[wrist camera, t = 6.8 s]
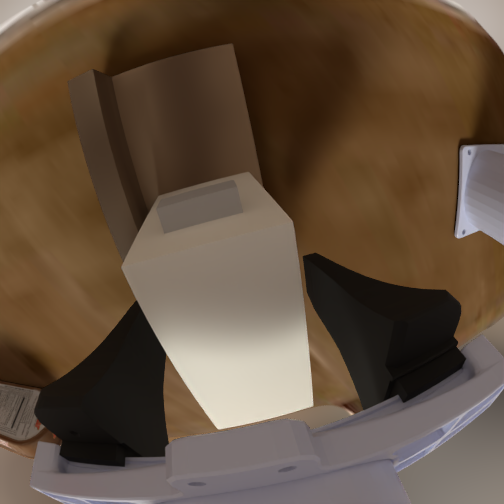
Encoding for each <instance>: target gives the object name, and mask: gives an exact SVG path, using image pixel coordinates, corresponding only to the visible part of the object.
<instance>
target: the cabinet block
mask: <svg viewBox="0 0 504 504" xmlns="http://www.w3.org/2000/svg"><path fill="white" fill-rule="evenodd" d="M121 268H122V270H123V272H124V275H125V277H126V279H127V281H128V283H129V285H130V287H131V289H132V291H133V293H134V295H135V297H136V299H137V301H138V303H139V305H140V307H141V309H142V311H143V313H144V315H145V316H146V318H147V320H148V322H149V324H150V326H151V327H152V329H153V331H154V333H155V335H156V336H157V338H158V340H159V342H160V343H161V345H162V347H163V348H164V350H165V352H166V353H167V355H168V357H169V358H170V360H171V362H172V363H173V365H174V366H175V368H176V370H177V371H178V373H179V374H180V376H181V377H182V379H183V381H184V382H185V384H186V385H187V387H188V388H189V390H190V391H191V393H192V394H193V395H194V397H195V398H196V400H197V401H198V403H199V404H200V406H201V407H202V408H203V410H204V411H205V413H206V414H207V415H208V417H209V418H210V419H211V421H212V422H213V423H214V425H215V426H216V427H217V429H223V428H229V427H234V426H239V425H244V424H249V423H253V422H257V421H262V420H266V419H270V418H274V417H278V416H281V415H285V414H288V413H292V412H295V411H299V410H302V409H305V408H308V407H312V406H313V394H312V381H311V369H310V357H309V347H308V336H307V327H306V317H305V308H304V300H303V291H302V283H301V275H300V267H299V260H298V253H297V245H296V238H295V231H294V225H293V221H292V220H291V219H290V218H289V216H288V215H287V214H286V213H285V212H284V211H283V209H282V208H281V207H280V206H279V205H278V204H277V203H276V202H275V200H274V199H273V198H272V197H271V196H270V195H269V194H268V192H267V191H266V190H265V189H264V188H263V187H262V186H261V185H260V184H259V182H258V181H257V180H256V179H255V178H254V177H253V176H252V175H251V174H250V173H249V172H245V173H241V174H237V175H233V176H229V177H225V178H221V179H217V180H213V181H209V182H205V183H201V184H198V185H194V186H191V187H187V188H184V189H180V190H177V191H173V192H170V193H166V194H163V195H160V196H158V198H157V199H156V201H155V203H154V205H153V206H152V208H151V210H150V212H149V214H148V215H147V217H146V219H145V221H144V223H143V225H142V227H141V228H140V230H139V232H138V234H137V236H136V238H135V240H134V242H133V244H132V246H131V248H130V250H129V252H128V254H127V256H126V258H125V260H124V262H123V265H122V267H121Z"/></svg>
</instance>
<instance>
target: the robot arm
mask: <svg viewBox="0 0 504 504" xmlns="http://www.w3.org/2000/svg"><path fill="white" fill-rule="evenodd" d="M479 230H481V231H482V232H484V233H486V234H487V235H489V236H490V237H492V238H494V239H495V240H497V241H498V242H500V243H501V244H503V245H504V144H481V145H462V146H461V147H460V172H459V195H458V208H457V218H456V227H455V236H456V237H457V238H462V237H464V236H467V235H469V234H472V233H474V232H476V231H479ZM303 262H304V270H305V279H306V288H307V293H308V296H309V298H310V300H311V302H312V305H313V307H314V309H315V311H316V312H317V314H318V316H319V317H320V319H321V320H322V322H323V324H324V325H325V327H326V328H327V330H328V332H329V333H330V335H331V336H332V338H333V340H334V341H335V343H336V345H337V347H338V348H339V350H340V353H341V355H342V357H343V359H344V361H345V364H346V366H347V368H348V371H349V373H350V375H351V378H352V380H353V383H354V385H355V388H356V390H357V393H358V396H359V398H360V401H361V404H362V407H363V410H364V411H361V412H359V413H356V414H354V415H351V416H349V417H347V418H344V419H341V420H338V421H336V422H333V423H330V424H327V425H324V426H321V427H318V428H315V429H312V430H310V427H309V426H308V425H307V424H306V423H305V422H304V421H301V420H294V419H282V420H276V421H268V422H265V423H260V424H256V425H251V426H247V427H242V428H237V429H232V430H226V431H220V432H214V433H208V434H201V435H193V436H187V437H183V438H178V439H174V440H173V441H172V442H170V443H169V442H168V436H167V429H166V421H165V412H164V398H163V383H164V371H165V360H166V352H165V350H164V348H163V347H162V345H161V343H160V342H159V340H158V338H157V336H156V335H155V333H154V331H153V329H152V327H151V326H150V324H149V322H148V320H147V318H146V316H145V315H144V313H143V311H142V309H141V307H140V305H139V303H138V301H137V300H136V301H135V303H134V304H133V305H132V306H131V307H130V309H129V310H128V311H127V313H126V314H125V315H124V316H123V318H122V319H121V320H120V321H119V323H118V324H117V325H116V327H115V328H114V329H113V330H112V331H111V333H110V334H109V335H108V336H107V337H106V339H105V340H104V341H103V342H102V343H101V344H100V345H99V346H98V347H97V348H96V349H95V350H94V351H93V352H92V353H91V354H90V355H89V356H88V357H87V358H86V359H84V360H83V361H82V362H81V363H80V364H79V365H78V366H76V367H75V368H74V369H72V370H71V371H70V372H68V373H67V374H66V375H64V376H63V377H61V378H60V379H58V380H57V381H55V382H53V383H51V384H50V385H48V386H46V387H44V388H43V389H41V391H40V394H39V397H38V400H37V403H36V406H35V409H34V414H35V416H36V418H37V419H38V420H39V422H40V423H41V424H42V425H43V426H45V427H46V428H47V429H48V430H49V431H51V432H52V433H53V434H54V435H56V436H57V437H58V438H60V439H61V440H62V444H61V446H60V445H57V444H54V443H48V442H42V441H39V442H38V445H37V449H36V454H35V458H34V464H33V469H32V474H31V480H30V486H31V487H32V488H34V489H36V490H38V491H40V492H41V493H43V494H45V495H47V496H49V497H51V498H54V499H56V500H58V501H60V502H62V503H64V504H411V502H410V500H409V498H408V496H407V493H406V492H405V489H404V487H403V485H402V483H401V481H400V479H399V476H398V474H397V472H399V471H400V470H402V469H404V468H406V467H407V466H409V465H411V464H412V463H414V462H416V461H417V460H419V459H421V458H422V457H424V456H425V455H427V454H428V453H430V452H431V451H433V450H434V449H436V448H437V447H439V446H440V445H441V444H443V443H444V442H445V441H447V440H448V439H450V438H451V437H452V436H454V435H455V434H456V433H457V432H459V431H460V430H461V429H463V428H464V427H465V426H466V425H468V424H469V423H470V422H472V421H473V420H474V419H475V418H476V417H477V416H479V415H480V414H481V413H482V412H484V411H485V410H486V409H487V408H488V407H489V406H490V405H491V404H492V402H494V400H495V399H496V398H497V397H498V395H499V394H500V393H501V391H502V390H503V389H504V357H503V356H502V355H501V354H500V353H499V351H497V349H496V348H495V347H494V346H493V345H492V344H491V343H490V342H489V340H488V339H487V338H486V337H485V336H484V335H479V336H478V337H477V338H475V339H474V340H473V341H471V342H470V343H468V344H467V345H466V346H465V347H463V349H462V350H461V351H459V349H458V348H457V347H456V346H457V344H458V341H457V340H456V339H455V338H454V333H455V331H456V328H457V325H458V322H459V320H460V316H461V305H460V303H459V302H458V301H457V300H456V299H455V298H454V297H453V296H452V295H451V294H450V293H449V292H447V291H446V290H432V289H418V288H410V287H403V286H398V285H394V284H389V283H385V282H382V281H379V280H375V279H372V278H369V277H366V276H364V275H361V274H359V273H356V272H354V271H352V270H349V269H347V268H345V267H343V266H341V265H339V264H337V263H335V262H333V261H331V260H329V259H327V258H325V257H323V256H321V255H319V254H317V253H313V254H309V255H305V256H303Z"/></svg>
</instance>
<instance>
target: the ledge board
mask: <svg viewBox="0 0 504 504" xmlns="http://www.w3.org/2000/svg"><path fill="white" fill-rule="evenodd" d="M68 87H69V93H70V98H71V103H72V108H73V112H74V117H75V121H76V125H77V129H78V133H79V137H80V141H81V145H82V149H83V152H84V156H85V159H86V163H87V166H88V169H89V172H90V176H91V179H92V182H93V185H94V188H95V191H96V194H97V197H98V200H99V202H100V205H101V208H102V211H103V214H104V216H105V219H106V221H107V224H108V227H109V229H110V232H111V234H112V237H113V239H114V242H115V244H116V246H117V249H118V251H119V254H120V256H121V258H122V260H123V262H124V260H125V258H126V256H127V254H128V252H129V250H130V248H131V246H132V244H133V242H134V240H135V238H136V236H137V234H138V232H139V230H140V228H141V227H142V225H143V223H144V221H145V219H146V217H147V215H148V214H149V212H150V210H151V208H152V206H153V205H154V203H155V201H156V199H157V198H158V196H160V195H163V194H166V193H170V192H173V191H177V190H180V189H184V188H187V187H191V186H194V185H198V184H201V183H205V182H209V181H213V180H217V179H221V178H225V177H229V176H233V175H237V174H241V173H245V172H249V173H250V174H251V175H252V176H253V177H254V178H255V179H256V180H257V181H258V182H259V184H260V185H261V186H262V187H263V183H262V178H261V173H260V168H259V163H258V158H257V153H256V148H255V143H254V138H253V134H252V129H251V124H250V119H249V115H248V110H247V105H246V101H245V96H244V92H243V87H242V83H241V78H240V74H239V69H238V65H237V61H236V56H235V52H234V48H233V43H232V44H226V45H220V46H215V47H210V48H205V49H200V50H196V51H192V52H188V53H184V54H180V55H176V56H172V57H169V58H165V59H162V60H159V61H155V62H152V63H149V64H146V65H143V66H140V67H137V68H134V69H132V70H129V71H126V72H124V73H121V74H118V75H116V76H113V77H110V76H108V75H106V74H103V73H101V72H99V71H96V70H94V69H92V70H90V71H87V72H85V73H83V74H81V75H79V76H77V77H75V78H73V79H71V80H69V81H68Z"/></svg>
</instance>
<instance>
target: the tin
mask: <svg viewBox="0 0 504 504" xmlns="http://www.w3.org/2000/svg"><path fill="white" fill-rule="evenodd" d="M40 391H41V389H40V388H37V387H31V386H25V385H20V384H14V383H10V382H5V381H0V447H2V448H4V449H6V450H9V451H11V452H14V453H16V454H18V455H21V456H24V457H26V458H30V459H34V458H35V454H36V449H37V445H38V442H39V441H42V442H48V443H54V444H57V445H61V443H62V440H61V439H60V438H58V437H57V436H56V435H54V434H53V433H52V432H51V431H49V430H48V429H47V428H46V427H45V426H43V425H42V424H41V423H40V422H39V420H38V419H37V418H36V416H35V414H34V409H35V406H36V403H37V400H38V397H39V394H40Z"/></svg>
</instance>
